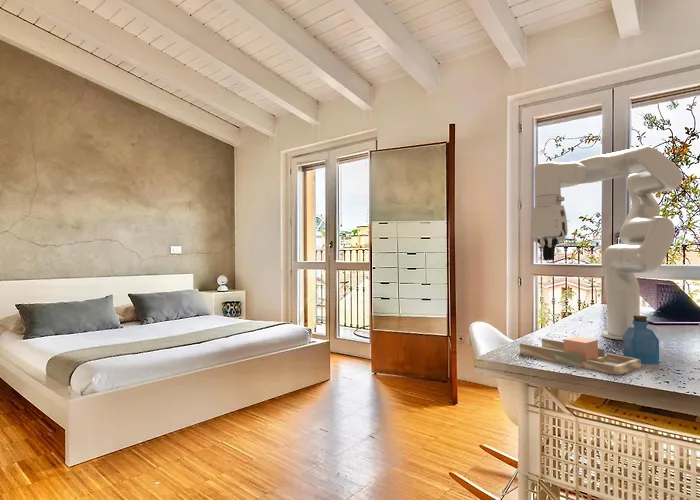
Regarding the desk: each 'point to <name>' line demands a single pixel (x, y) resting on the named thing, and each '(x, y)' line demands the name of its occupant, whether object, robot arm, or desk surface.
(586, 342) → the block
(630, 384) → the desk surface
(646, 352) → the perfume bottle
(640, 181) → the robot arm
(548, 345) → the corridor
